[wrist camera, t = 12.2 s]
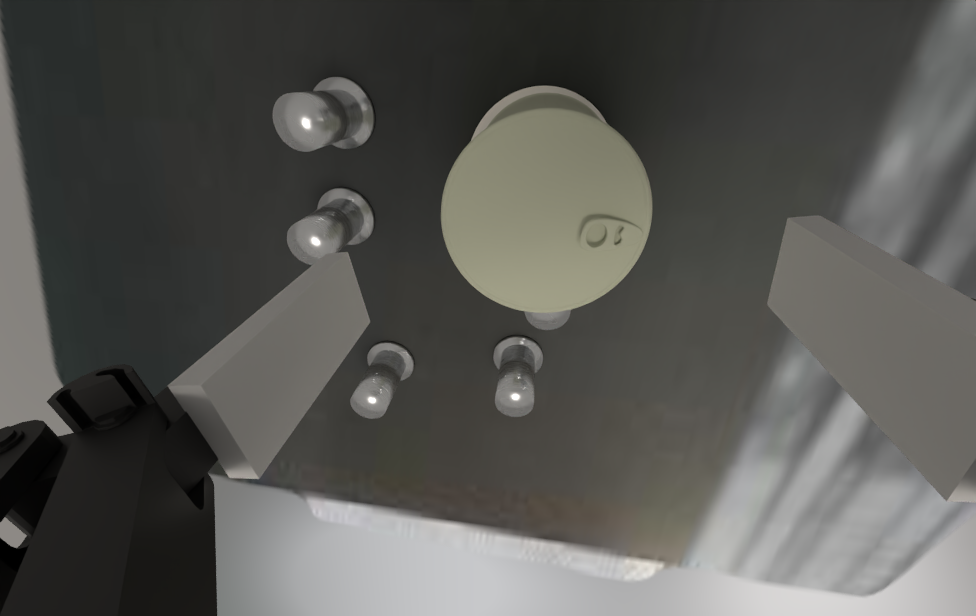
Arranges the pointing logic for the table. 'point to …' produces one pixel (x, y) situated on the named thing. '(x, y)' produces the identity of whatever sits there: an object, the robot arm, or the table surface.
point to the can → (546, 206)
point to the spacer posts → (350, 220)
